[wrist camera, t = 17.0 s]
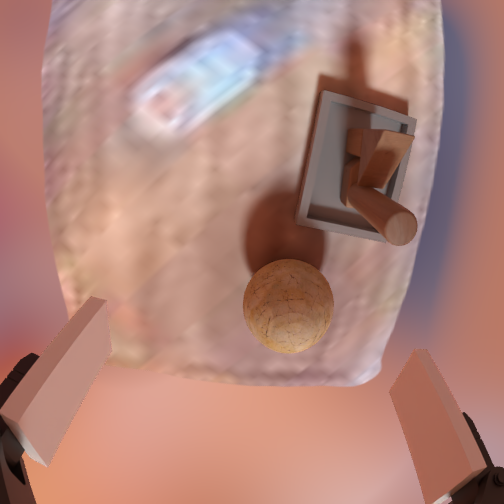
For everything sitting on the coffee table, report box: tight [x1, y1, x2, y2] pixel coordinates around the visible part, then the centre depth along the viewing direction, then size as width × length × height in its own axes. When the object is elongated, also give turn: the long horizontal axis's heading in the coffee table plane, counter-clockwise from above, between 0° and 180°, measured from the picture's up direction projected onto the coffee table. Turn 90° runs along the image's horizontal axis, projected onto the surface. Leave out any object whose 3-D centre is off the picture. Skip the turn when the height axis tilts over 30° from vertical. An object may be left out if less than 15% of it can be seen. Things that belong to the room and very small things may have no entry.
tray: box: [294, 90, 417, 243], centre depth 40 cm, size 19×14×3 cm
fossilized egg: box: [243, 259, 334, 353], centre depth 42 cm, size 13×13×15 cm
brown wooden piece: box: [340, 128, 417, 246], centre depth 33 cm, size 4×11×18 cm, turn 176°
